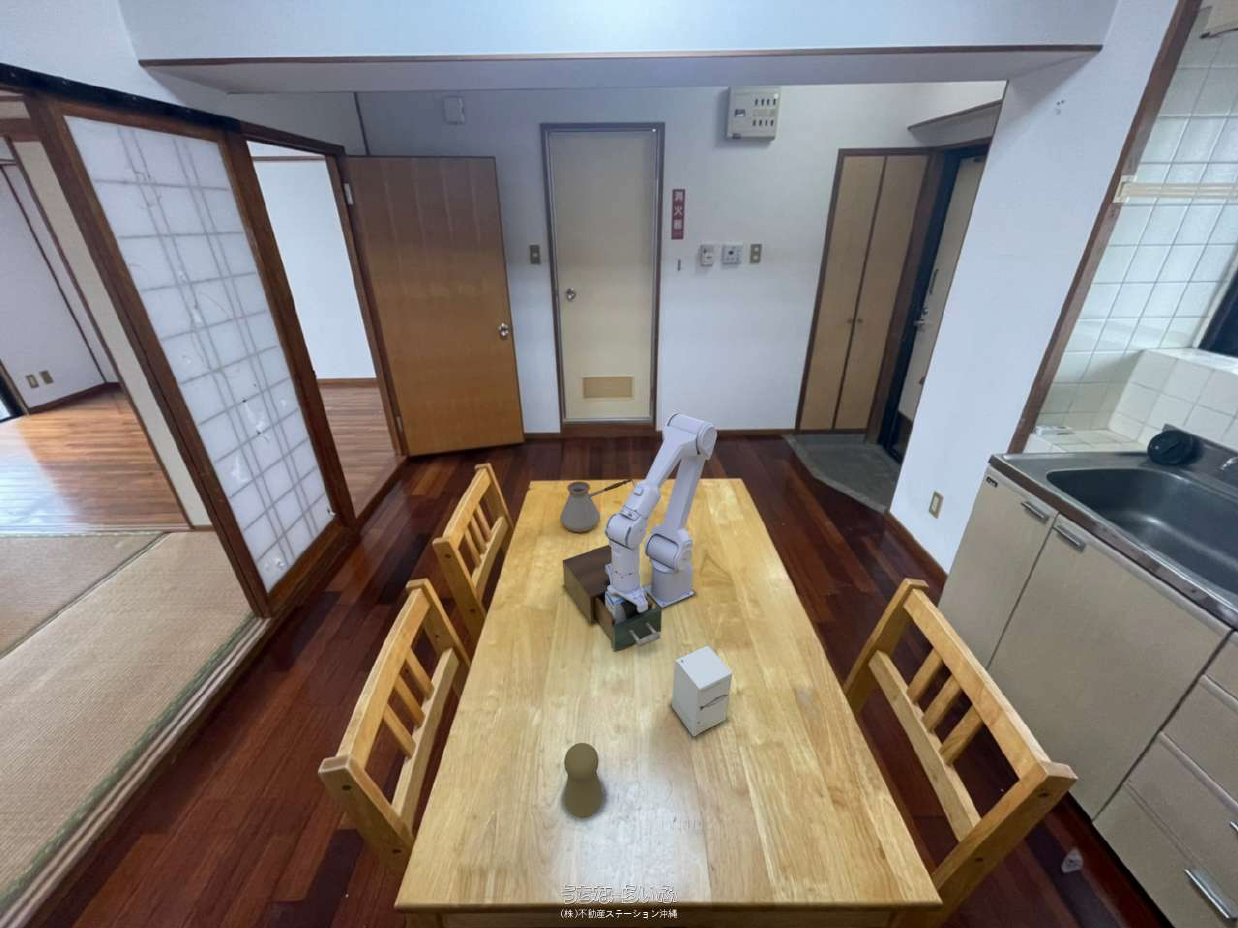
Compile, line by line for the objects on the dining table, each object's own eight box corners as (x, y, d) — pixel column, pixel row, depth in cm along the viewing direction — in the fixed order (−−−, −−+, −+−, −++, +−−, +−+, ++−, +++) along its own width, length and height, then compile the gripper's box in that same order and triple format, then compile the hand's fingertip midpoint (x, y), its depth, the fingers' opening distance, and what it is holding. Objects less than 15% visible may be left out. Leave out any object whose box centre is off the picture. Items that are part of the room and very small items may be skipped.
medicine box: (635, 608, 117) (636, 578, 113) (646, 621, 113) (647, 590, 109) (605, 621, 113) (604, 590, 109) (614, 634, 110) (614, 603, 106)
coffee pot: (559, 537, 145) (556, 491, 138) (561, 514, 155) (558, 470, 148) (635, 535, 145) (635, 489, 138) (632, 512, 155) (633, 468, 148)
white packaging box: (693, 738, 91) (698, 689, 85) (670, 706, 97) (673, 658, 91) (727, 721, 94) (733, 672, 88) (703, 690, 100) (707, 643, 94)
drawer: (672, 644, 109) (674, 622, 106) (625, 666, 104) (625, 644, 101) (629, 593, 123) (629, 573, 120) (586, 611, 118) (585, 589, 115)
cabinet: (639, 604, 121) (639, 577, 117) (591, 624, 115) (589, 597, 111) (609, 569, 132) (608, 544, 128) (564, 586, 126) (562, 560, 123)
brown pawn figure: (564, 780, 85) (560, 737, 80) (601, 776, 85) (600, 734, 80) (564, 819, 79) (560, 776, 74) (603, 815, 80) (602, 772, 75)
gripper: (592, 553, 110) (594, 601, 117) (626, 593, 99) (626, 644, 105) (621, 543, 113) (621, 591, 120) (657, 581, 102) (655, 631, 108)
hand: (625, 615), depth 113 cm, fingers open, 5 cm apart
